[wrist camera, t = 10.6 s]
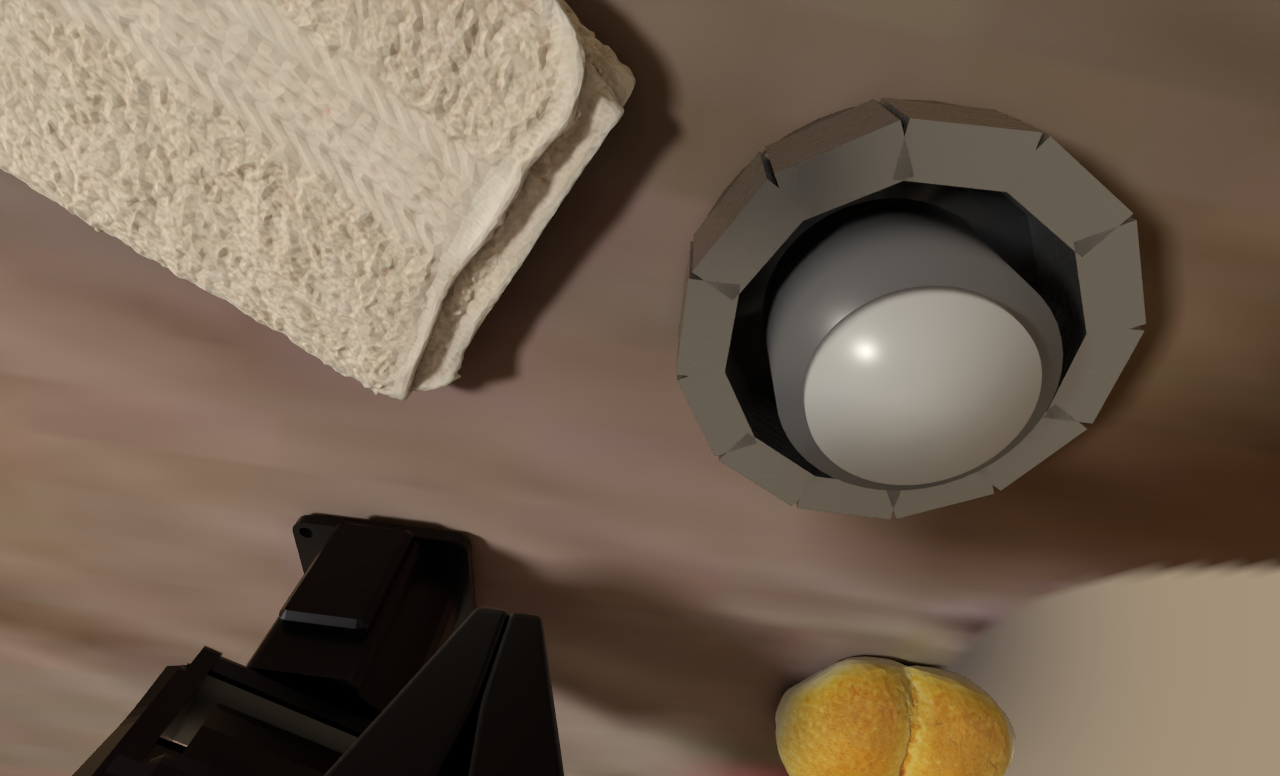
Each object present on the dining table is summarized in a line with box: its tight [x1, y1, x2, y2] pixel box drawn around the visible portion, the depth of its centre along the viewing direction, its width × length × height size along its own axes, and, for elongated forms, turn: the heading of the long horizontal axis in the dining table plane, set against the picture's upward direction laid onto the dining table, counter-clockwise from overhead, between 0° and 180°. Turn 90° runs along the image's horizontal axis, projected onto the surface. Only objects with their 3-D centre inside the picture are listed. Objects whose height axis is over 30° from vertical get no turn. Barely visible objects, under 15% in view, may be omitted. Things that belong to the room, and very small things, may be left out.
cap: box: [763, 198, 1063, 491], centre depth 16 cm, size 6×6×4 cm
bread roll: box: [775, 657, 1016, 776], centre depth 27 cm, size 8×9×4 cm
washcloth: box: [0, 0, 636, 401], centre depth 15 cm, size 12×18×3 cm, turn 55°
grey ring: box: [676, 98, 1146, 519], centre depth 17 cm, size 10×10×3 cm
